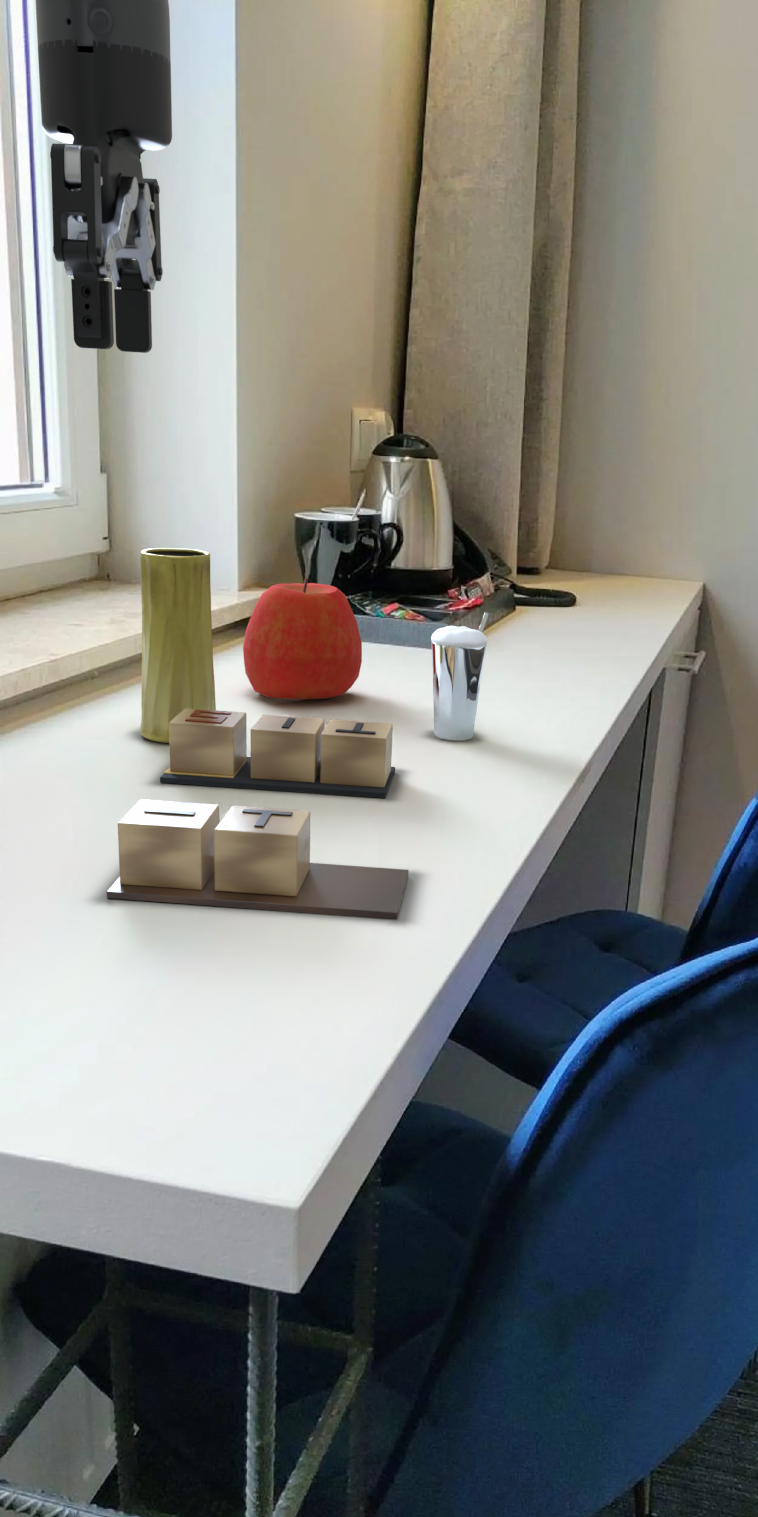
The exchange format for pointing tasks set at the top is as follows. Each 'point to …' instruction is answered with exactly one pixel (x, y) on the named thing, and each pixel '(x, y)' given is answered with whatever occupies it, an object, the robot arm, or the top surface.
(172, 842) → the near word
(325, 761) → the far word
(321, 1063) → the top surface
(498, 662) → the top surface
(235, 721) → the tile
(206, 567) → the vase
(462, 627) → the milkshake
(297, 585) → the apple
